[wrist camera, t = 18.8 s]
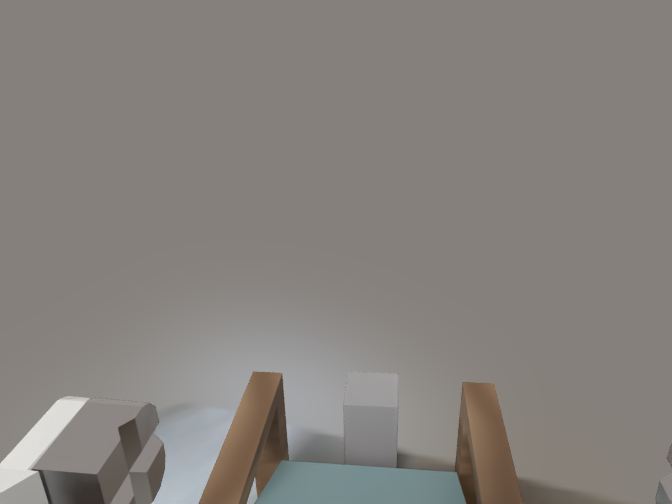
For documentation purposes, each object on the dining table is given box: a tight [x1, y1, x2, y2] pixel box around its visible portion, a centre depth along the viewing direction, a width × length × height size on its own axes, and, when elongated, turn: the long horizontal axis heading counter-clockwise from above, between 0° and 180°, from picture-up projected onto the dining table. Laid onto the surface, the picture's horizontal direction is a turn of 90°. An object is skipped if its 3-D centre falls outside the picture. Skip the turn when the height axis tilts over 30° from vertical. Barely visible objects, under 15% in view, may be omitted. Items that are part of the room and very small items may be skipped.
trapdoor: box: [254, 460, 466, 504], centre depth 37 cm, size 14×12×1 cm
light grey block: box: [343, 372, 398, 468], centre depth 53 cm, size 5×5×9 cm
